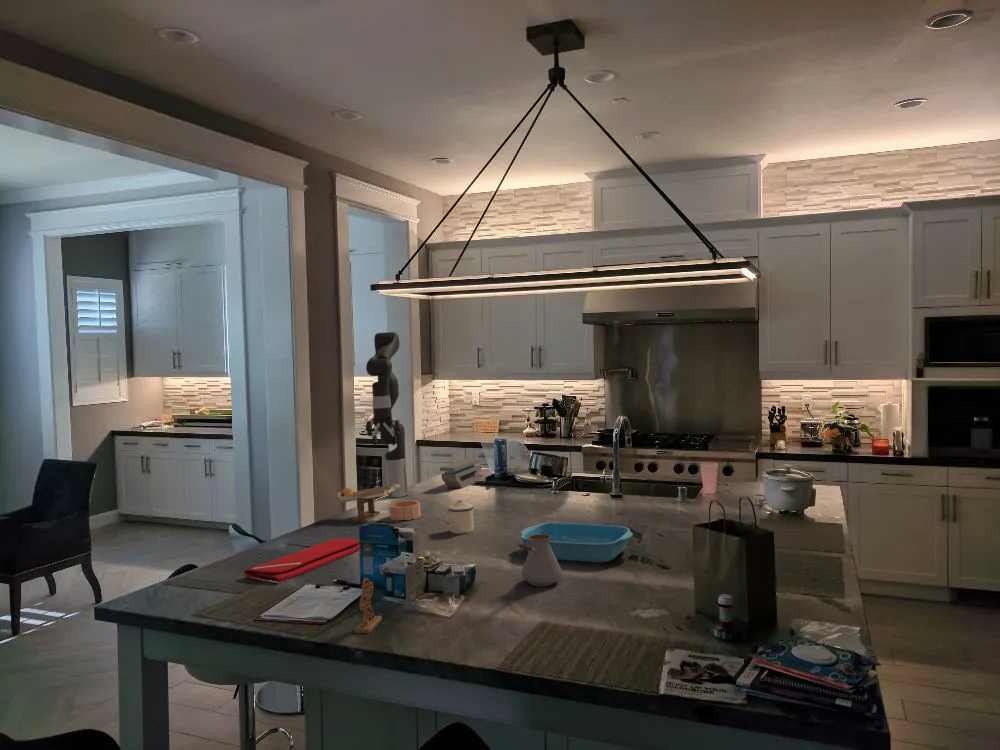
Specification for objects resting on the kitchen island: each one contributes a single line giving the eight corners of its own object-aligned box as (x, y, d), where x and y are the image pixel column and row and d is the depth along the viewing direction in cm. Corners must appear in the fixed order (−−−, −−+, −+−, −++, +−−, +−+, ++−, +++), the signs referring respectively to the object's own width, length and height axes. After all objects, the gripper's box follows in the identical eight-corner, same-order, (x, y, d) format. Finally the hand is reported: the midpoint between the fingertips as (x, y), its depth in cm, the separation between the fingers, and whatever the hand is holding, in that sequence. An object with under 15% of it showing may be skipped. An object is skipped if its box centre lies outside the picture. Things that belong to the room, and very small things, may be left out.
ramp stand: (366, 513, 310) (364, 491, 309) (379, 513, 309) (378, 491, 308) (353, 522, 296) (351, 498, 296) (367, 522, 295) (365, 498, 294)
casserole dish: (509, 558, 236) (508, 536, 236) (538, 539, 256) (537, 519, 255) (620, 569, 219) (619, 545, 218) (642, 548, 239) (641, 526, 238)
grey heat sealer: (467, 480, 371) (466, 458, 370) (481, 480, 367) (479, 458, 367) (441, 490, 349) (439, 467, 348) (455, 491, 345) (454, 468, 345)
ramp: (356, 493, 318) (354, 484, 317) (399, 486, 313) (398, 476, 313) (339, 503, 300) (337, 493, 300) (385, 495, 296) (382, 485, 296)
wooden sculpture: (369, 633, 181) (365, 584, 180) (354, 632, 182) (350, 584, 181) (382, 619, 190) (379, 573, 189) (368, 619, 191) (364, 573, 190)
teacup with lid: (476, 527, 277) (474, 496, 276) (472, 533, 268) (470, 502, 267) (445, 528, 278) (443, 497, 278) (439, 534, 269) (437, 502, 269)
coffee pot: (530, 574, 219) (527, 523, 218) (568, 577, 214) (565, 525, 213) (501, 599, 199) (498, 543, 198) (541, 602, 194) (538, 546, 194)
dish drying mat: (368, 548, 259) (367, 537, 258) (279, 585, 223) (278, 573, 223) (334, 544, 266) (333, 534, 266) (243, 580, 231) (242, 568, 231)
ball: (348, 498, 305) (343, 490, 306) (356, 493, 305) (350, 485, 305) (344, 500, 302) (339, 492, 302) (352, 495, 301) (347, 487, 301)
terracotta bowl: (396, 514, 306) (395, 500, 306) (424, 513, 304) (423, 500, 303) (386, 521, 294) (385, 507, 294) (415, 521, 292) (414, 507, 292)
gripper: (401, 404, 314) (403, 443, 315) (369, 406, 317) (372, 444, 318) (395, 406, 306) (398, 446, 307) (362, 408, 309) (365, 447, 310)
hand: (384, 445), depth 313 cm, fingers open, 7 cm apart
